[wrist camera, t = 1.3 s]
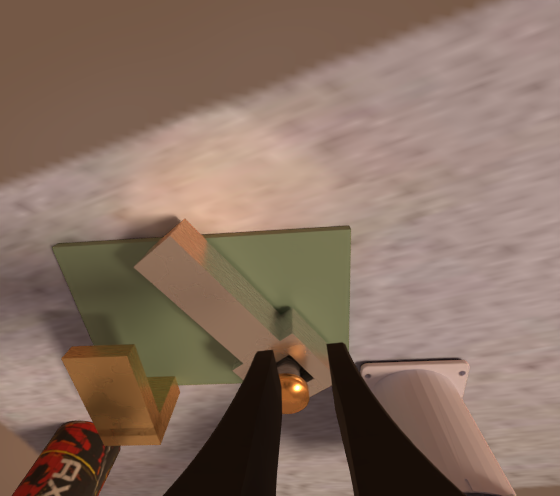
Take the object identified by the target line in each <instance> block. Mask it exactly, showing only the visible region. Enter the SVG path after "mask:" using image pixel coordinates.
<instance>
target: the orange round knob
mask: <svg viewBox="0 0 560 496" xmlns="http://www.w3.org/2000/svg"><path fill="white" fill-rule="evenodd" d="M276 365H277V369H278V373H279V378H280V382H281V387H282V414H292V413H296V412H299V411H301V410H302V409H304V408H305V407H306V406H307V404H308V402H309V387H308V385H307V383H306V381H305V380H304V379H302V378H301V377H300V364H299V363H298V362H297V361H296V360H295V359H294V358H293V357H291V356H290V355H288V356H286V357H284V358H283V359H281V360H279V361H278V362H276Z"/></svg>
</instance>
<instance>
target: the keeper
mask: <svg viewBox="0 0 560 496" xmlns="http://www.w3.org/2000/svg"><path fill="white" fill-rule="evenodd" d="M62 361H63V363H64V365H65V367H66V369H67V371H68V373H69V375H70V377H71V379H72V381H73V383H74V385H75V387H76V389H77V391H78V393H79V395H80V397H81V399H82V401H83V403H84V405H85V407H86V409H87V411H88V413H89V415H90V417H91V419H92V421H93V423H94V425H95V427H96V429H97V431H98V433H99V435H100V437H101V440H102V442H103V444H104V446H125V445H161V442H162V439H163V437H164V434H165V431H166V429H167V426H168V423H169V421H170V418H171V415H172V413H173V410H174V407H175V405H176V402H177V399H178V397H179V394H180V390H179V387H178V384H177V380H176V377H175V376H166V377H146V374H145V371H144V369H143V366H142V363H141V360H140V357H139V355H138V352H137V349H136V346H135V344H123V345H99V346H74V347H71V348H70V349H69V350H68V352H67V353H66V354H65V355H64V356H63V357H62Z"/></svg>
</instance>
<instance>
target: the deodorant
mask: <svg viewBox="0 0 560 496" xmlns="http://www.w3.org/2000/svg"><path fill="white" fill-rule="evenodd" d="M119 451H120V446H104V444H103V442H102V440H101V437H100V435H99V433H98V431H97V429H96V427H95V425H94V423H92V422H87V421H72V422H68V423H65V424H63V425H62V426H61V427H60V428H59V429H58V430H57V432H56V433H55V434H54V436H53V437H52V439H51V440H50V442H49V443H48V444H47V446H46V447H45V449H44V450H43V452H42V453H41V454H40V456H39V457H38V459H37V460H36V462H35V463H34V465H33V466H32V467H31V469H30V470H29V472H28V473H27V475H26V476H25V478H24V479H23V480H22V482H21V483H20V485H19V486H18V488H17V489H16V490H15V492H14V493H13V495H12V496H98V495H99V493H100V491H101V489H102V487H103V485H104V483H105V481H106V478H107V476H108V474H109V472H110V470H111V468H112V466H113V464H114V462H115V460H116V458H117V456H118V454H119Z"/></svg>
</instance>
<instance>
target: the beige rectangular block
mask: <svg viewBox="0 0 560 496" xmlns="http://www.w3.org/2000/svg"><path fill="white" fill-rule="evenodd" d="M134 268H135V269H136V270H137V271H138V272H140V273H141V274H142V275H143V276H144V277H145V278H146V279H148V280H149V281H150V282H151V283H152V284H153V285H154V286H156V287H157V288H158V289H159V290H160V291H161V292H162V293H164V294H165V295H166V296H167V297H168V298H169V299H170V300H171V301H173V302H174V303H175V304H176V305H177V306H178V307H179V308H181V309H182V310H183V311H184V312H185V313H186V314H187V315H189V316H190V317H191V318H192V319H193V320H194V321H195V322H197V323H198V324H199V325H200V326H201V327H202V328H203V329H205V330H206V331H207V332H208V333H209V334H210V335H211V336H213V337H214V338H215V339H216V340H217V341H218V342H219V343H221V344H222V345H223V346H224V347H225V348H226V349H227V350H229V351H230V352H231V353H232V354H233V355H234V356H235V359H234V364H233V369H232V371H233V372H234V373H235V374H237V375H238V376H239V377H240V378H241V379H242V380H244V378H245V376H246V374H247V372H248V370H249V368H250V365H251V363H252V361H253V358H254V356H255V354H256V353H257V351H264V350H273V352H274V356H275V360H276V362H278V361H279V360H281V359H283V358H284V357H286V356H288V355H290V356H291V357H293V358H294V359H295V360H296V361H297V362H298V363H299V364H300V377H301V378H302V379H304V380H305V381H306V383H307V385H308V387H309V397H311V396H313V395H315V394H317V393H318V392H320V391H322V390H324V389H326V388H328V387H330V386H332V382H331V375H330V367H329V360H328V352H327V345H326V344H327V343H326V342H325V341H324V340H323V339H322V338H321V337H320V336H319V335H318V334H317V332H316V331H315V330H314V329H313V328H312V327H311V326H310V325H309V324H308V323H307V322H306V321H305V320H304V319H303V318H302V317H301V316H300V315H299V314H298V313H297V312H296V311H295V310H294V309H293V308H291V309H289V310H288V311H286V312H284V313H283V314H280V313H279V312H278V311H277V310H276V309H275V308H274V307H273V306H272V305H271V304H270V303H269V302H268V301H267V300H266V299H265V298H264V297H263V296H262V295H261V294H260V293H259V292H258V291H257V290H256V289H255V288H254V287H253V286H252V285H251V284H250V283H249V282H248V281H247V280H246V279H245V278H244V277H243V276H242V275H241V274H240V273H239V272H238V271H237V270H236V269H235V268H234V267H233V266H232V265H231V264H230V263H229V262H228V261H227V260H226V259H225V258H224V257H223V256H222V255H221V254H220V253H219V252H218V251H217V250H216V249H215V248H214V247H213V246H212V245H211V244H210V243H209V242H208V241H207V240H206V239H205V238H204V237H203V236H202V235H201V234H200V233H199V232H198V231H197V230H196V229H195V228H194V227H193V226H192V225H191V224H190V223H189V222H188V221H187V220H186V219H184V220H183V221H181V222H180V223H179V224H178V225H177V226H176V227H174V228H173V229H172V230H171V231H170V232H169V233H167V234H166V235H165V236H164V237H163V238H162V239H161V240H159V241H158V242H157V243H156V244H155V245H154V246H152V247H151V249H150V250H149V251H148V252H147V253H146V254H145V255H144V256H143V257H142V258H141V259H140V261H139V262H138V263H137V264H136V265H135V266H134Z"/></svg>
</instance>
